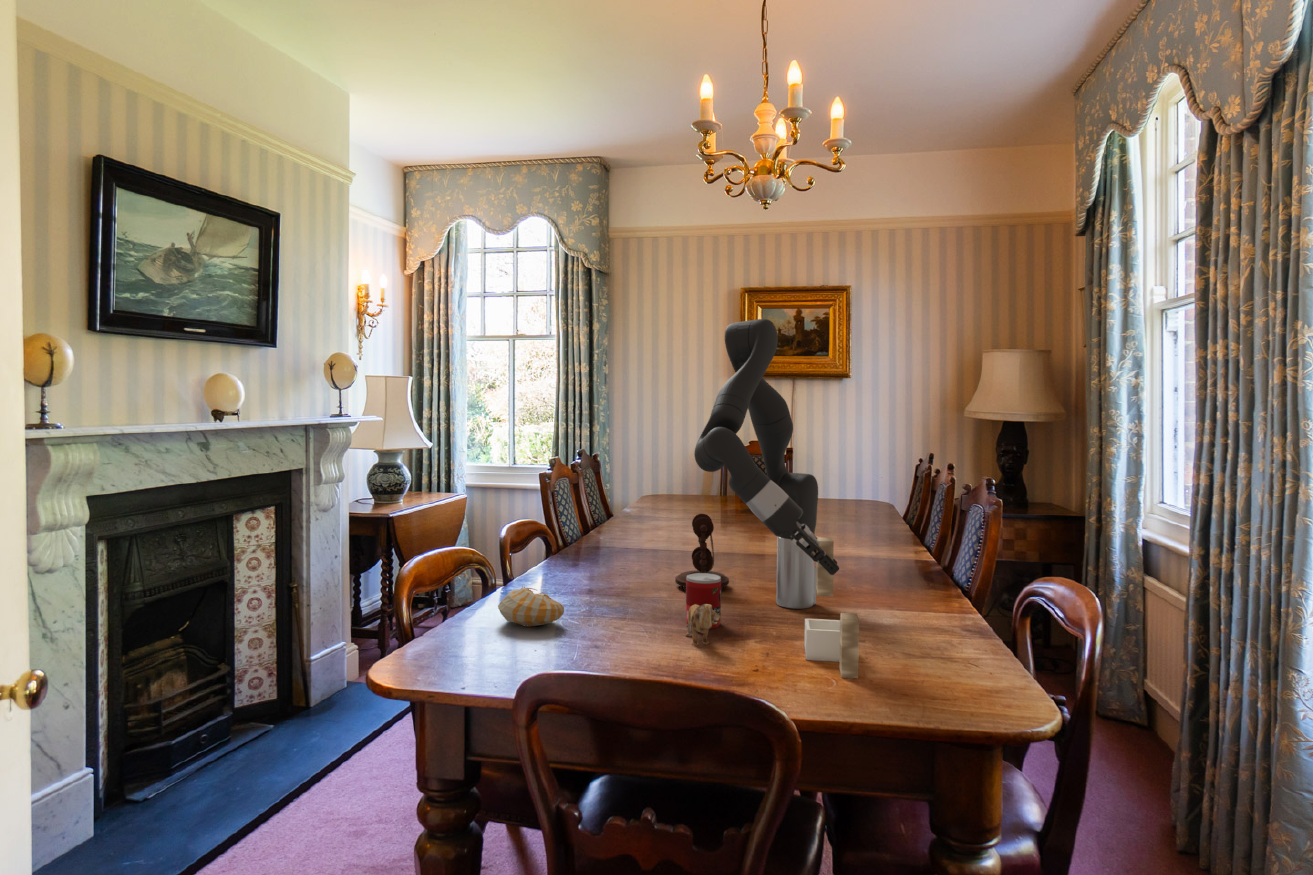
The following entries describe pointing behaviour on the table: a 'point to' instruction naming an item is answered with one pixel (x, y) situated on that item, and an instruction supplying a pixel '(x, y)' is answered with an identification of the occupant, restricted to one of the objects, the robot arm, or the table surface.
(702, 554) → the brown double wheel stand
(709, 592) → the canned food
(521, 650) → the table surface
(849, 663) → the beige rectangular block
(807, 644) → the open square box
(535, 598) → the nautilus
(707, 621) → the lion figurine
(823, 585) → the tall square pillar
